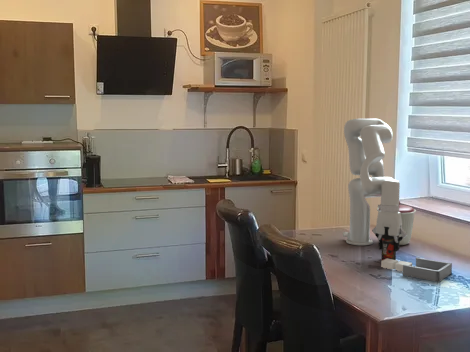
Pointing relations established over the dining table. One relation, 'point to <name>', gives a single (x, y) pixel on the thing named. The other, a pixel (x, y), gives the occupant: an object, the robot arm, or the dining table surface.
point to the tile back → (389, 263)
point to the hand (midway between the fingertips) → (388, 249)
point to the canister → (406, 222)
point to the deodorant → (388, 246)
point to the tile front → (400, 265)
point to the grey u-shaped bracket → (428, 269)
